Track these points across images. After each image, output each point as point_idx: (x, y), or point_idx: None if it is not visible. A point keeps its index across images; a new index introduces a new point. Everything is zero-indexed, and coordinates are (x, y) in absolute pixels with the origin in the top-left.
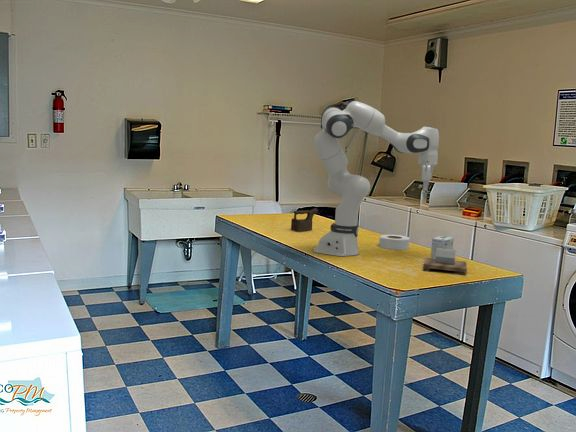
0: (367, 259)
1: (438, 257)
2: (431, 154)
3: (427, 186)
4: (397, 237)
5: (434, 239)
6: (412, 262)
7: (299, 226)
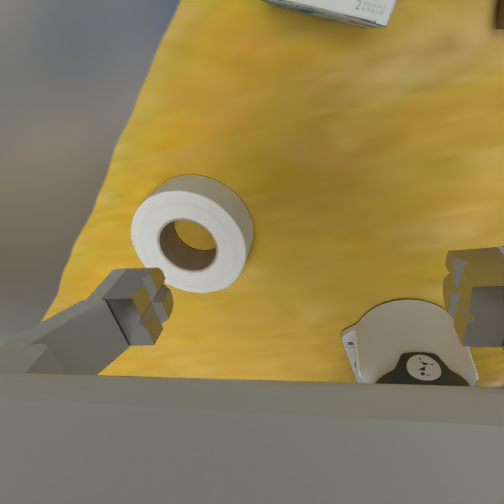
0: None
1: None
2: None
3: (144, 293)
4: (161, 238)
5: (393, 8)
6: (475, 95)
7: None
